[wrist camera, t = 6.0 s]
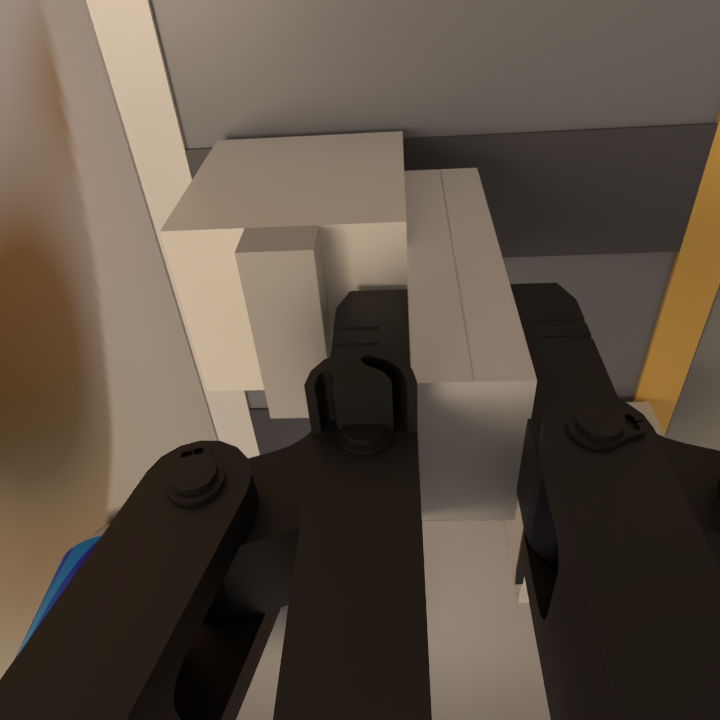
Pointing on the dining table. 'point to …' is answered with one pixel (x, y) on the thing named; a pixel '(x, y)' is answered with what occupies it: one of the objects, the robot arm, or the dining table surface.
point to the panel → (465, 145)
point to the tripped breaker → (284, 253)
